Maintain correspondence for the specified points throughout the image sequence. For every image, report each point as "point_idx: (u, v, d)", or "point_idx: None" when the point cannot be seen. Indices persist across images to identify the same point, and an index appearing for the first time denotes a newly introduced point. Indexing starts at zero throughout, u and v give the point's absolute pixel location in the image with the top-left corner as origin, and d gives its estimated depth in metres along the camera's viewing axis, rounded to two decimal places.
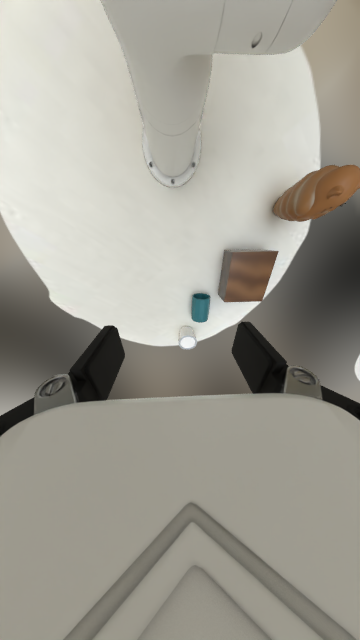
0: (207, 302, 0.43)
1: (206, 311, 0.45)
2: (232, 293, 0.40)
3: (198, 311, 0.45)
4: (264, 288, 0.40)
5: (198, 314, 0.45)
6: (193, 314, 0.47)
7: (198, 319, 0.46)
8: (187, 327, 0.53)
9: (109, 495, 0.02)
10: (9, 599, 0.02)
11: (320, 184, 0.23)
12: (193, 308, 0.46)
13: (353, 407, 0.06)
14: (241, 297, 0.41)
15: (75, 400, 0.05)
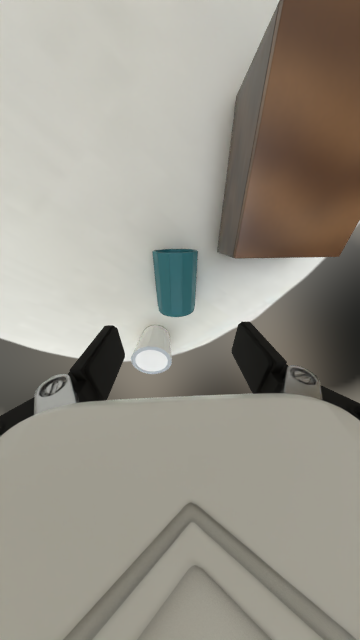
0: (189, 263, 0.17)
1: (188, 289, 0.18)
2: (260, 227, 0.13)
3: (168, 289, 0.18)
4: None
5: (168, 296, 0.18)
6: (159, 298, 0.20)
7: (170, 309, 0.19)
8: (155, 328, 0.26)
9: (109, 495, 0.02)
10: (9, 599, 0.02)
11: None
12: (157, 282, 0.19)
13: (352, 407, 0.06)
14: (285, 243, 0.14)
15: (75, 400, 0.05)
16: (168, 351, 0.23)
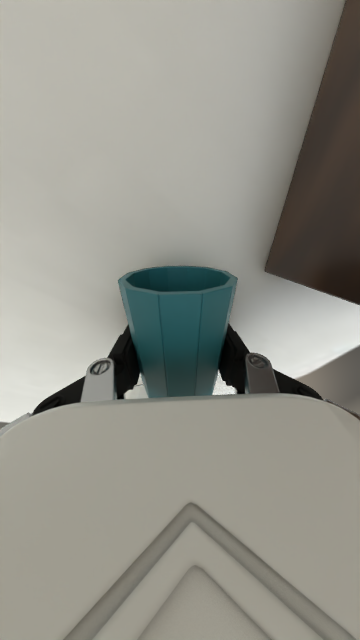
0: (219, 316, 0.06)
1: (210, 367, 0.07)
2: None
3: (161, 373, 0.07)
4: None
5: (162, 385, 0.08)
6: (142, 374, 0.09)
7: None
8: (143, 393, 0.16)
9: (109, 495, 0.02)
10: (9, 599, 0.02)
11: None
12: (135, 347, 0.08)
13: (298, 387, 0.06)
14: None
15: (113, 386, 0.06)
16: None
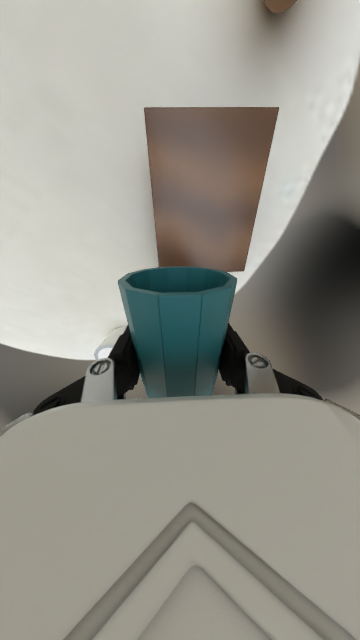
0: (219, 317, 0.06)
1: (210, 368, 0.08)
2: (173, 251, 0.17)
3: (161, 373, 0.07)
4: (247, 237, 0.17)
5: (162, 386, 0.08)
6: (142, 374, 0.09)
7: None
8: (120, 329, 0.30)
9: (109, 495, 0.02)
10: (9, 599, 0.02)
11: None
12: (135, 348, 0.08)
13: (298, 387, 0.06)
14: (196, 261, 0.18)
15: (113, 386, 0.06)
16: None
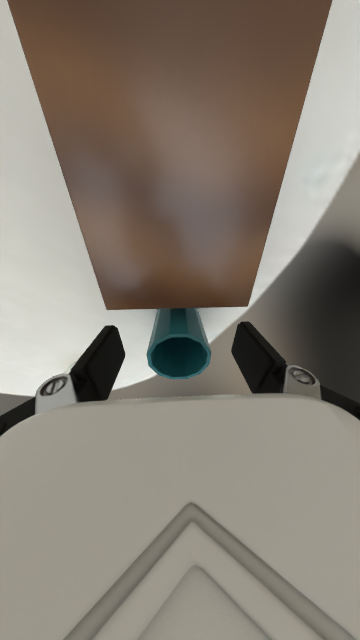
0: None
1: None
2: (123, 275, 0.10)
3: None
4: (255, 253, 0.09)
5: None
6: None
7: None
8: None
9: (109, 495, 0.02)
10: (9, 600, 0.02)
11: None
12: None
13: (351, 406, 0.06)
14: (166, 292, 0.11)
15: (76, 400, 0.05)
16: None
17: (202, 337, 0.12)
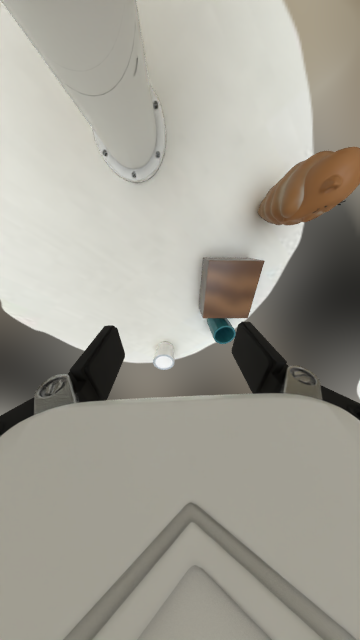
0: None
1: None
2: (211, 308, 0.34)
3: None
4: (249, 303, 0.34)
5: None
6: None
7: None
8: (165, 343, 0.47)
9: (109, 495, 0.02)
10: (9, 600, 0.02)
11: (311, 175, 0.17)
12: None
13: (353, 407, 0.06)
14: (223, 313, 0.35)
15: (75, 400, 0.05)
16: (173, 357, 0.43)
17: None
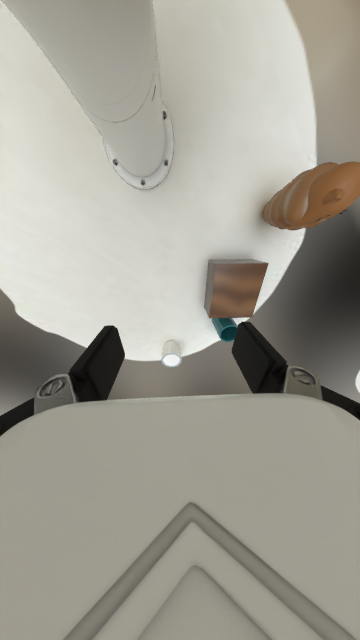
0: None
1: None
2: (217, 309, 0.36)
3: None
4: (254, 303, 0.35)
5: None
6: None
7: None
8: (172, 342, 0.49)
9: (109, 495, 0.02)
10: (9, 600, 0.02)
11: (314, 186, 0.18)
12: None
13: (352, 406, 0.06)
14: (228, 313, 0.36)
15: (75, 400, 0.05)
16: (180, 355, 0.45)
17: (237, 326, 0.38)
